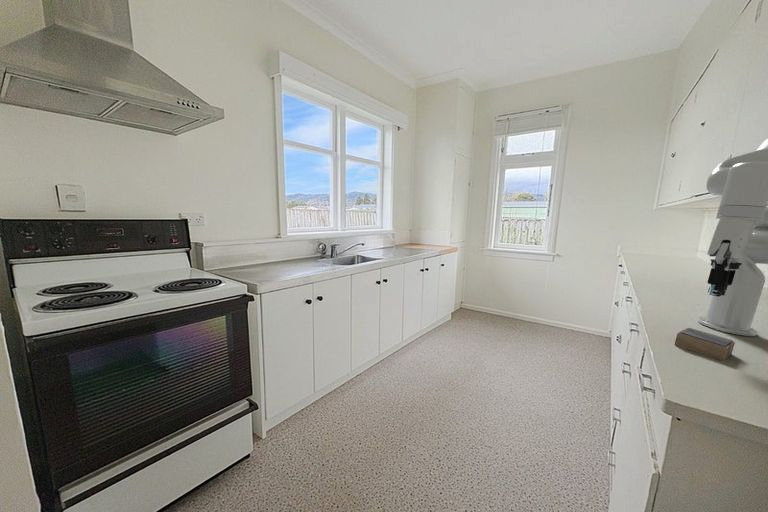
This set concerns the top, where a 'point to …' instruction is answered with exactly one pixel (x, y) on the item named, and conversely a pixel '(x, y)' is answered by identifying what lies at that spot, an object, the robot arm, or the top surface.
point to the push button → (722, 290)
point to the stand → (705, 343)
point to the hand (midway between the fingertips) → (719, 283)
